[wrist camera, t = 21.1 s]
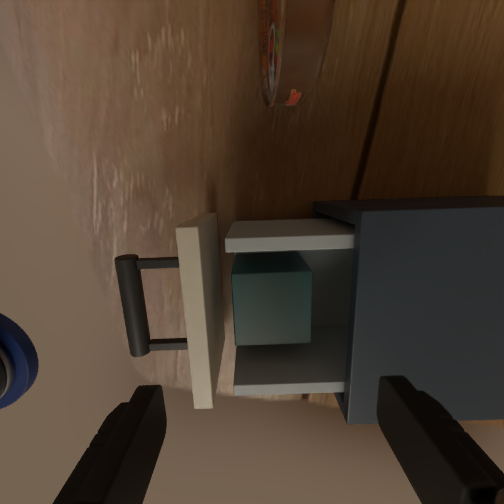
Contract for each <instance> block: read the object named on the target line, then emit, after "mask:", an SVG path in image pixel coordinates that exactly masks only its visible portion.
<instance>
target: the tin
mask: <svg viewBox="0 0 504 504" xmlns="http://www.w3.org/2000/svg"><path fill="white" fill-rule="evenodd" d="M334 2H335V0H258V15H259V51H260V76H261V87H262V95H263V100H264V103H265V106H266V107H267V108H271V107H272V106H295V105H300V104H302V103H303V102H304V101H305V100H306V99H307V97H308V96H309V94H310V92H311V90H312V89H313V87H314V86H315V84H316V82H317V80H318V78H319V76H320V72H321V69H322V66H323V63H324V59H325V55H326V50H327V46H328V42H329V36H330V31H331V25H332V18H333V10H334Z"/></svg>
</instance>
